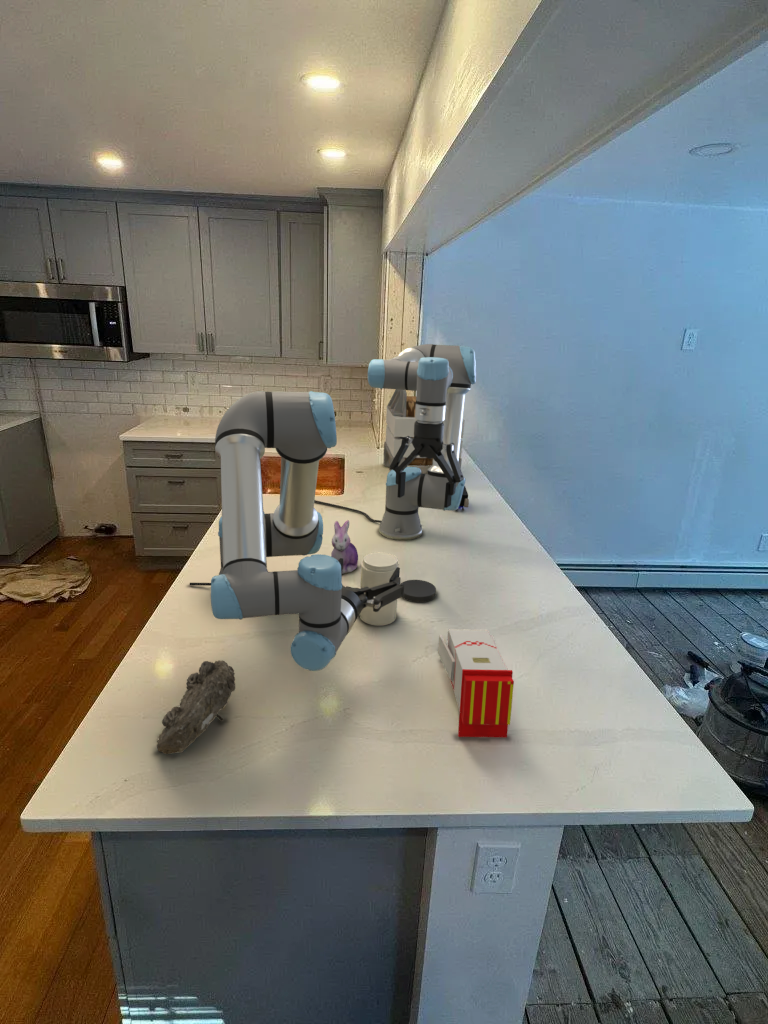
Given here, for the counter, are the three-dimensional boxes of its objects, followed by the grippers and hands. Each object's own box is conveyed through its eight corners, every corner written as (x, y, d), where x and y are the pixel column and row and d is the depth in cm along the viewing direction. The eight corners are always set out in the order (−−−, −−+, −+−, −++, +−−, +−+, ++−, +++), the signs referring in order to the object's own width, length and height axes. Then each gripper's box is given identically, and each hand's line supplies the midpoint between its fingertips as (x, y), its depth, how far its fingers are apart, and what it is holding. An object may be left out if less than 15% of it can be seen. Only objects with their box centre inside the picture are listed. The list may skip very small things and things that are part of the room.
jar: (402, 621, 144) (406, 563, 139) (368, 628, 140) (371, 569, 135) (386, 604, 152) (388, 549, 147) (353, 610, 148) (355, 554, 143)
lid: (394, 598, 155) (394, 592, 155) (404, 582, 165) (404, 576, 164) (431, 605, 153) (431, 599, 152) (439, 588, 162) (439, 583, 162)
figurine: (336, 577, 165) (336, 529, 160) (323, 563, 174) (323, 517, 169) (365, 572, 170) (367, 525, 164) (351, 558, 178) (352, 514, 173)
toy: (488, 613, 130) (523, 677, 101) (484, 667, 133) (517, 744, 104) (435, 612, 130) (455, 676, 101) (432, 666, 133) (451, 743, 103)
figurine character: (468, 516, 224) (463, 500, 237) (471, 498, 221) (465, 483, 234) (452, 515, 224) (447, 499, 237) (453, 498, 220) (449, 482, 234)
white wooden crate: (382, 463, 289) (386, 382, 275) (445, 464, 293) (451, 384, 279) (390, 482, 257) (394, 392, 243) (460, 483, 261) (468, 394, 247)
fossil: (184, 662, 117) (235, 629, 112) (216, 692, 120) (268, 662, 115) (132, 748, 97) (191, 713, 92) (172, 781, 100) (232, 750, 95)
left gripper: (280, 618, 116) (318, 573, 135) (398, 641, 110) (421, 591, 129) (279, 585, 113) (319, 545, 133) (400, 607, 107) (423, 561, 127)
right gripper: (379, 417, 145) (375, 495, 152) (470, 430, 134) (462, 514, 141) (393, 413, 151) (389, 489, 158) (481, 425, 140) (473, 506, 147)
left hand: (369, 567), depth 131 cm, fingers open, 13 cm apart
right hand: (423, 501), depth 150 cm, fingers open, 13 cm apart
